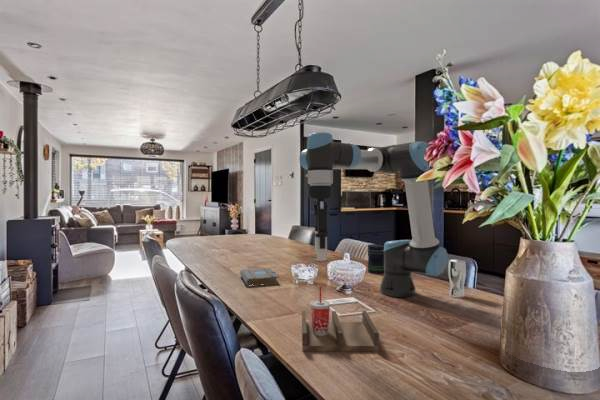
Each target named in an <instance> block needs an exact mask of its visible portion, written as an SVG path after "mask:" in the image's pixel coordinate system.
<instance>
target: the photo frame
mask: <svg viewBox="0 0 600 400" xmlns="http://www.w3.org/2000/svg"><path fill="white" fill-rule="evenodd" d="M324 300H325V299H324ZM325 301H329V302H330V308H329V311H331V312H332V311H336V310H335V309H334V308H332V307H331V306H336V305H345V304H355V303H358V304H360V305H361V306H363V307H365V308H366V309H368V310H367V311H366V310H365V311H366V312H367V314H373V313H376V310H375V309H373V308H372V307H370V306H368V305H367V304H366V303H363V302H362V301H360V300H358V299H356V297H353V296H351V297H342V298H341V297H340V298H333V299H326V300H325ZM336 313H337V316H338V318H342V317H348V316H356V315H362V311H359V312H349V313H343V314H342V313H341V314H340V313H339V312H337V311H336Z"/></svg>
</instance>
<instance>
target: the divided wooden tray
mask: <svg viewBox="0 0 600 400" xmlns="http://www.w3.org/2000/svg"><path fill="white" fill-rule="evenodd" d="M336 312H337V310H335V311H331V321H329V325H328V334H327V335H325V336H317V335H314V334H313V326H312V321H307V312H306V311H305V310H302V311H301V338H302V339H301V340H302V341H301V343H302V348H301V350H302V352H380V351H379V350H380V348H379V347H380V345H379V342H380V337H379V335H380V334H379V331H378V329H377V327H376V326H375V324H374V322H373V321H372V319H371V317H370V315H369V313H367V312H366V310H362V311H361V312H362V314H361V315H362V317H361V319H362V320H361V321H340V319H339V316H338V315H337V313H336Z"/></svg>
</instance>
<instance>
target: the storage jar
mask: <svg viewBox="0 0 600 400" xmlns="http://www.w3.org/2000/svg"><path fill="white" fill-rule="evenodd" d="M367 257H368V258H367V273H369V274H372V273H373V275H384V274H383V273H384V244H378V243H377V244H376V243H375V244H374V243H373V244H372V243H371V244H368V245H367Z"/></svg>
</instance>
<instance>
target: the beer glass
mask: <svg viewBox="0 0 600 400" xmlns="http://www.w3.org/2000/svg"><path fill="white" fill-rule="evenodd" d="M466 264H467V263H466V260H464V259H459V258H458V259H456V258H455V259H453V258H452V259H448V267H447V270H448V271H447V274H448V275H447V276H448V279H449V281H448V282H449V293H448V295H449V296H450V297H452V298H460V299H462V298H465V296H466V295H465V294H466V293H465V287H464V286H465V282H466V278H467V277H466V276H467V265H466Z"/></svg>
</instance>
